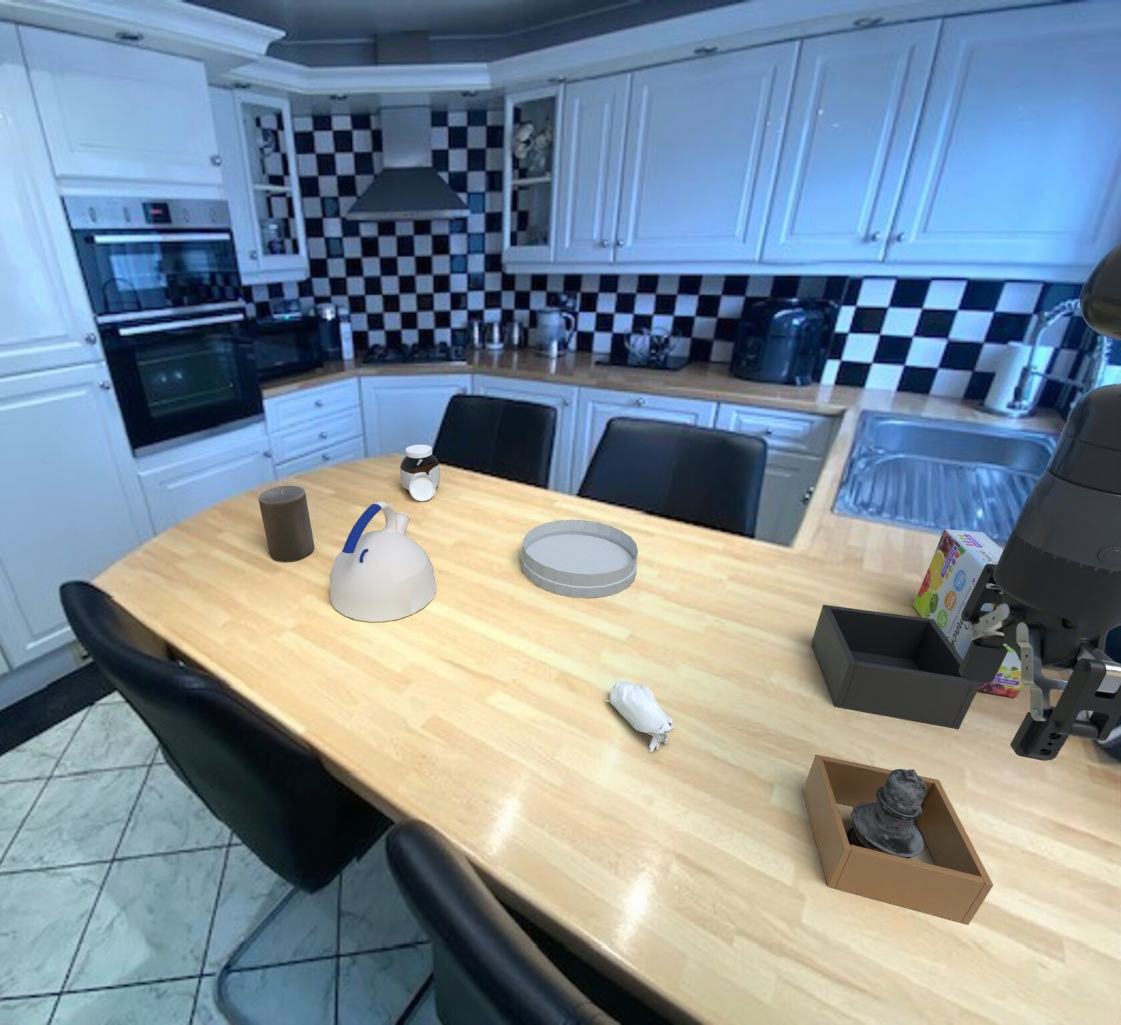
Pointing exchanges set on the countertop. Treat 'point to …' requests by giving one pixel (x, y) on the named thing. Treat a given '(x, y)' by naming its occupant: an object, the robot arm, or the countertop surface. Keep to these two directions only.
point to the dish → (579, 558)
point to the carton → (890, 878)
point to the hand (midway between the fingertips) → (999, 713)
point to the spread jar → (420, 472)
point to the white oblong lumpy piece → (641, 711)
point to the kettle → (381, 571)
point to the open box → (891, 666)
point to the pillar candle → (286, 523)
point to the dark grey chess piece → (891, 817)
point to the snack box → (964, 598)
